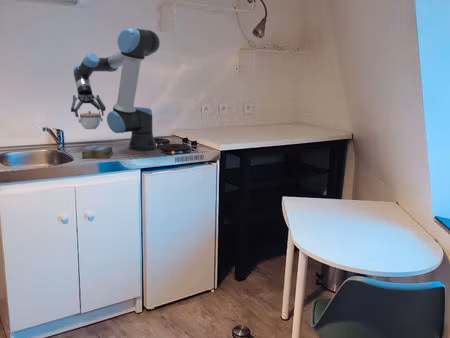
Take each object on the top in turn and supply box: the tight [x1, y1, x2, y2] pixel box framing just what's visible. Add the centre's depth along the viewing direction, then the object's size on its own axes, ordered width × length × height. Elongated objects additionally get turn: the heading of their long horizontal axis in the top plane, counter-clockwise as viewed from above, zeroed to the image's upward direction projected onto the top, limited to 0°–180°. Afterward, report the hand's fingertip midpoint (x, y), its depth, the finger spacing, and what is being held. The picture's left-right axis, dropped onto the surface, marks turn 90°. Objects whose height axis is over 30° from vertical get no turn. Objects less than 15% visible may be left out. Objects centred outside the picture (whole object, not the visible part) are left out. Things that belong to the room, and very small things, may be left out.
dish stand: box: [81, 144, 113, 159], centre depth 213 cm, size 13×13×4 cm
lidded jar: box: [80, 110, 101, 130], centre depth 223 cm, size 11×11×9 cm
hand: (91, 120), depth 220 cm, fingers closed on lidded jar, 11 cm apart
